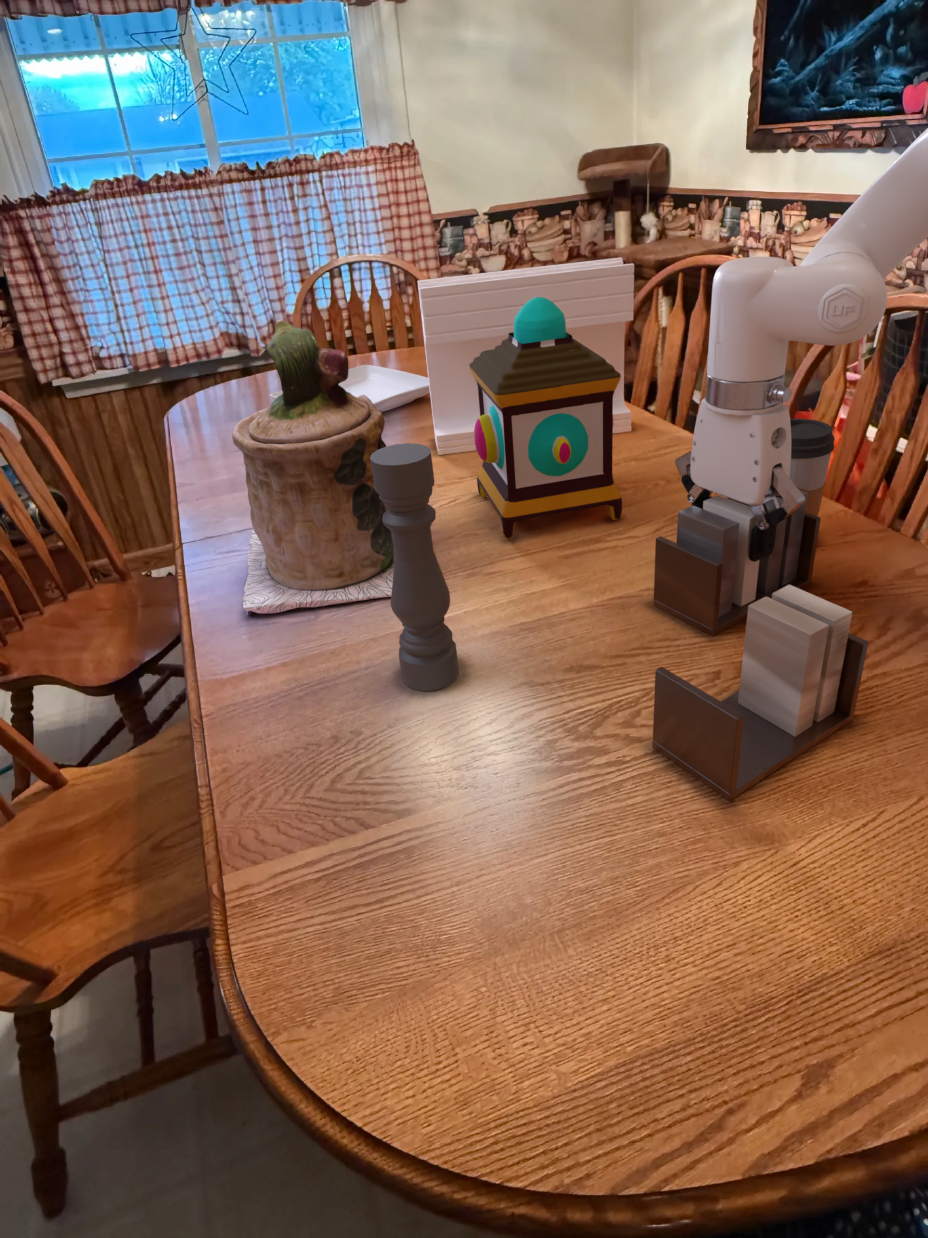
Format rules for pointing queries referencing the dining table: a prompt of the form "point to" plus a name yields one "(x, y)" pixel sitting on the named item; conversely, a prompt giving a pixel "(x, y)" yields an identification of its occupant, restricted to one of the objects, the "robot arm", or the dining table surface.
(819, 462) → the coffee cup
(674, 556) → the dark brown wooden holder
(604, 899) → the dining table surface
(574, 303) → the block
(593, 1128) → the dining table surface
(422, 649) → the candle holder
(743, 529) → the white book
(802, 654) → the dark brown rack
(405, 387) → the square plate
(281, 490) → the cookie jar
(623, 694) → the dining table surface
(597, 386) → the decorative lantern
